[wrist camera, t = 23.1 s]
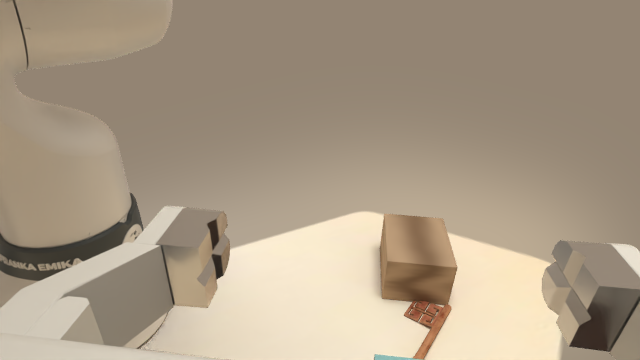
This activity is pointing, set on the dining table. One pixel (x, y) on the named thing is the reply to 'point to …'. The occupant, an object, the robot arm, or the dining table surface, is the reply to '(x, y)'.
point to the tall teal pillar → (391, 358)
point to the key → (428, 322)
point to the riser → (416, 259)
